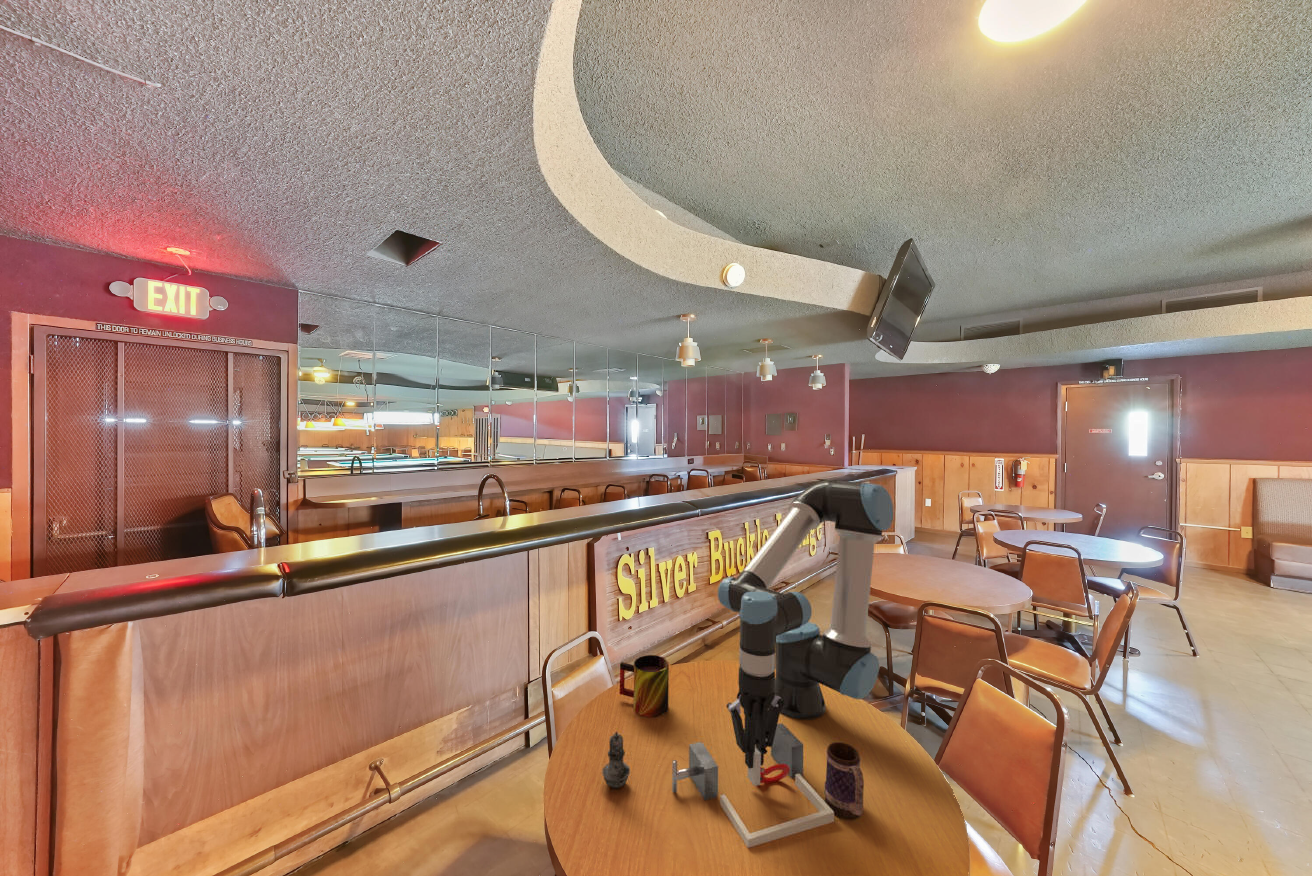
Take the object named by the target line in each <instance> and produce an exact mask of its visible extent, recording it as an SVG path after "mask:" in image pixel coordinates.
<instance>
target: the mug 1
mask: <svg viewBox="0 0 1312 876" xmlns="http://www.w3.org/2000/svg"><path fill="white" fill-rule="evenodd" d="M669 666H670V663H669V660H668V659H666V658H665V657H664V656H660V655H654V654H648V655H642V656H639V657H637V658H636V659H635V660H634V662H633V664H631V663H628V662H627V663H626V662H623V661H621V662H620V664H619V695H622V696H626V697H629V698H632V699H633V710H634V712H636V713H637V714H638V715H640V716H642V717H646V718H654V717H655V718H656V717H659V716H663V715H664V714H665V713H667V712H668V710H669V687H670V686H669V679H670V678H669V673H670V671H669V668H670V667H669ZM625 671H626V672H629V673H633V690H632V689H630V688H626V687H625V680H626V679H625V675H626V674H625V673H626V672H625Z"/></svg>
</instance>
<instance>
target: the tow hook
mask: <svg viewBox="0 0 1312 876" xmlns="http://www.w3.org/2000/svg"><path fill="white" fill-rule="evenodd" d="M781 770H782V772H780V773H779V774H778V775H777V774H776V775H775V776H771V777H766V776H768V775H770V774H771V773H773V772H775V771H781ZM789 772H790V769H789V767H788V765H786V764H778V763H777V764H775V765H771V766H769V767H767V768H764V767H761V769H760V784H768V783H774V782H778V781H781V780H783V779H784V778H786V777H787V775H788V773H789ZM788 776H789V775H788ZM756 786H760V785H756Z"/></svg>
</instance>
